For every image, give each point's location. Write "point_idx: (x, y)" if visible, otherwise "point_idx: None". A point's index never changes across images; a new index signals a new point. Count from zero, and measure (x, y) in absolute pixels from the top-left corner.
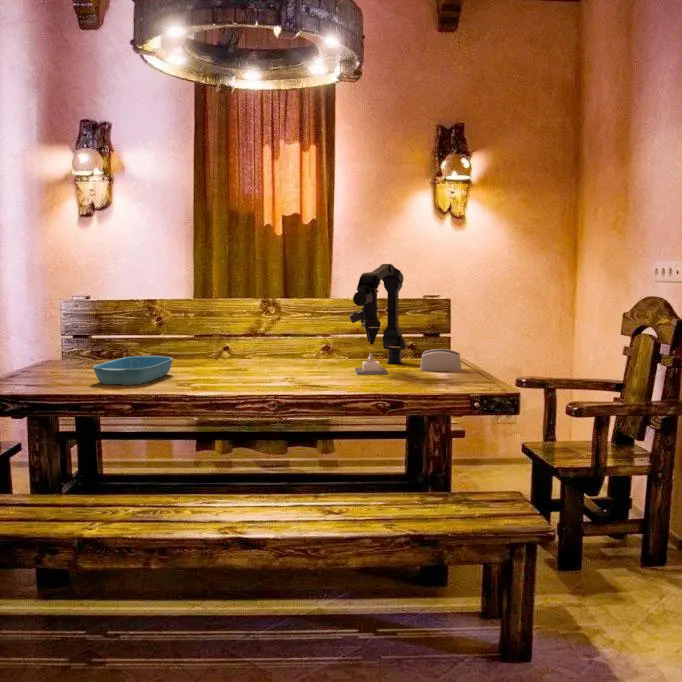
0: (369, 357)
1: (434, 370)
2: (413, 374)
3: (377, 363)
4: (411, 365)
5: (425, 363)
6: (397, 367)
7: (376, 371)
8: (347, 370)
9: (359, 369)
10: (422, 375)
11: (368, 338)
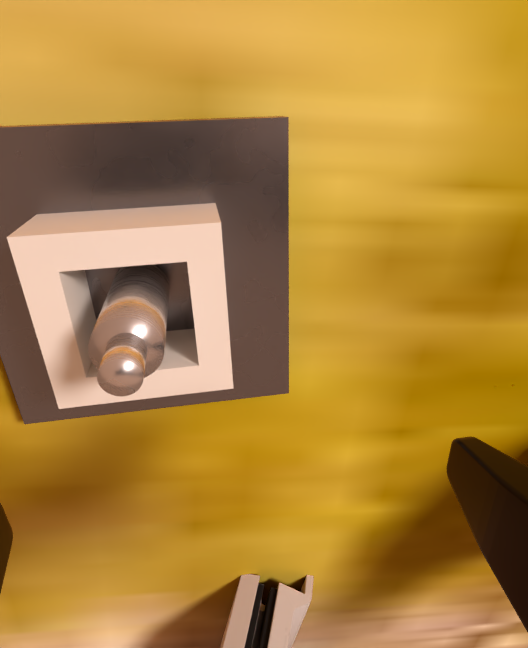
0: (113, 334)
1: (225, 628)
2: (48, 555)
3: (53, 386)
4: (456, 524)
5: (222, 645)
6: (391, 460)
7: (17, 338)
8: (280, 18)
9: (151, 168)
10: (8, 597)
11: (488, 490)
